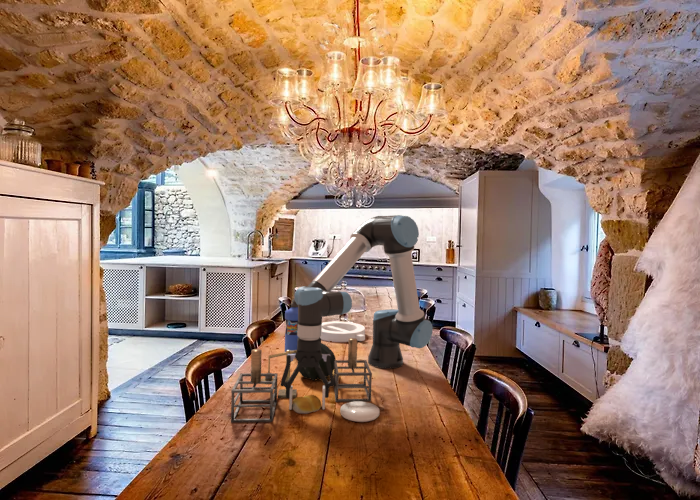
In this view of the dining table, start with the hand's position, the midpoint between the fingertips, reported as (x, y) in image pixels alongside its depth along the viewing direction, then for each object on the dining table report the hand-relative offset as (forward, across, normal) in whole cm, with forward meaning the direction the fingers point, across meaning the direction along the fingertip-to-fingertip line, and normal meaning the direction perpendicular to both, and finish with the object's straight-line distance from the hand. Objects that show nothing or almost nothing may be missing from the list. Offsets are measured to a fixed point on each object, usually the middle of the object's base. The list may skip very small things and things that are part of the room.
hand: (307, 407), depth 123 cm
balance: (0, +7, -10) cm, 12 cm away
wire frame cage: (0, +16, +2) cm, 16 cm away
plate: (0, -16, +5) cm, 17 cm away
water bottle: (0, +7, -59) cm, 60 cm away
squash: (0, -3, -27) cm, 27 cm away
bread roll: (+1, 0, 0) cm, 1 cm away
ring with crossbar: (0, -16, -90) cm, 92 cm away
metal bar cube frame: (0, -15, -11) cm, 19 cm away
